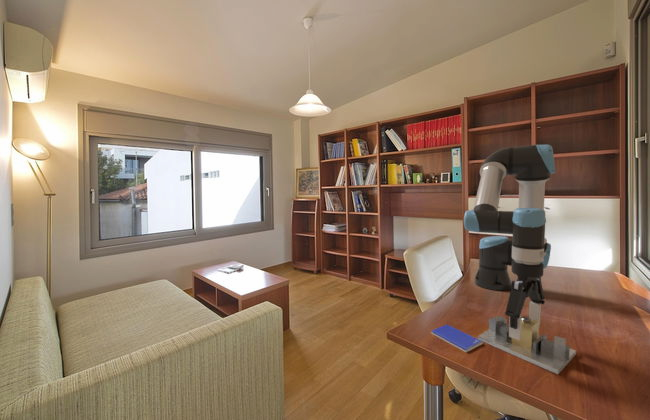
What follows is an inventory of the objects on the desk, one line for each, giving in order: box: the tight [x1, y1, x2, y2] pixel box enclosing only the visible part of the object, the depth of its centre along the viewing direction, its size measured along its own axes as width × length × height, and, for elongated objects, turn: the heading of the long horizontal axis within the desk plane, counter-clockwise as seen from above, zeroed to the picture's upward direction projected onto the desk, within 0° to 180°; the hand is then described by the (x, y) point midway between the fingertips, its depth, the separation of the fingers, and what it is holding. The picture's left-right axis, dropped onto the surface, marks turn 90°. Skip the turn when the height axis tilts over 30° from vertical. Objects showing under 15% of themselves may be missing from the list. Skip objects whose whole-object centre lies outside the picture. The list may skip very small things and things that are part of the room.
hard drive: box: [430, 324, 484, 353], centre depth 88 cm, size 2×8×12 cm
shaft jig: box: [477, 315, 577, 375], centre depth 82 cm, size 20×14×5 cm
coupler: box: [512, 314, 540, 350], centre depth 82 cm, size 5×5×8 cm
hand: (524, 330), depth 82 cm, fingers open, 13 cm apart
